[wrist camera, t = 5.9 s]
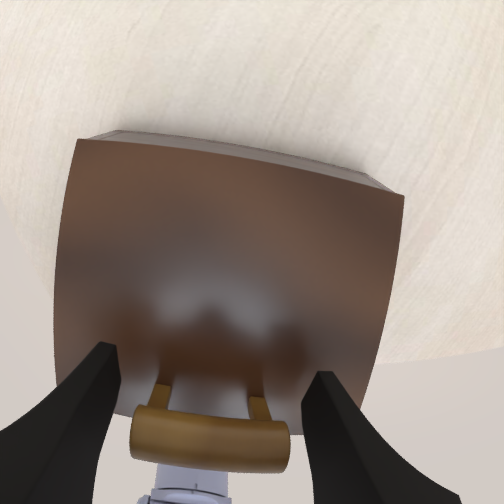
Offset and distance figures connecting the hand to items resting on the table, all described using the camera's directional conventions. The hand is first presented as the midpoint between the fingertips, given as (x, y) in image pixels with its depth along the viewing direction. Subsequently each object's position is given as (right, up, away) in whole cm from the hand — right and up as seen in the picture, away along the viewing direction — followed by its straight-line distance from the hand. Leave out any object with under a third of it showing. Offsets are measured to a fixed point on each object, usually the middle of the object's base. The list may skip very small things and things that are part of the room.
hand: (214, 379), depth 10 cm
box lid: (0, +2, +2) cm, 3 cm away
